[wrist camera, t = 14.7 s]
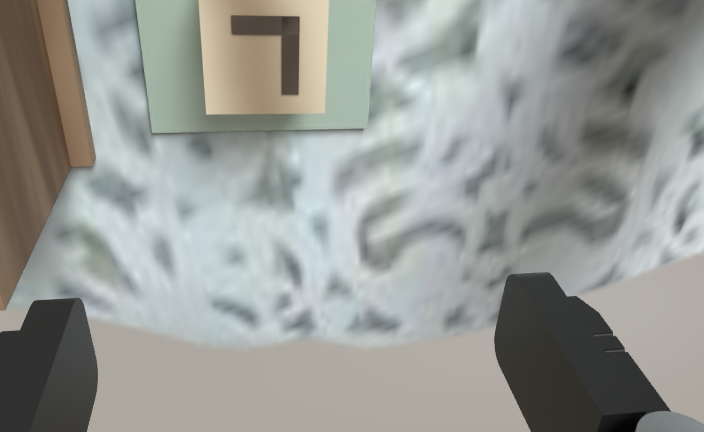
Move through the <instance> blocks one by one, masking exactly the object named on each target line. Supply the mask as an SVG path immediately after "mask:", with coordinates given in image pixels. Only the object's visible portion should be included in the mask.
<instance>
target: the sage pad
mask: <svg viewBox="0 0 704 432" xmlns="http://www.w3.org/2000/svg"><path fill="white" fill-rule="evenodd" d="M135 3H136V11H137V19H138V27H139V34H140V42H141V50H142V58H143V66H144V74H145V81H146V89H147V97H148V105H149V113H150V121H151V128H152V133H181V132H225V131H270V130H315V129H360V128H368V113H369V98H370V82H371V67H372V52H373V36H374V21H375V6H376V0H329V15H328V42H327V69H326V96H325V113H315V114H209V115H206V105H205V90H204V75H203V60H202V45H201V31H200V16H199V1H198V0H135Z"/></svg>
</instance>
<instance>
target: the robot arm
mask: <svg viewBox="0 0 704 432" xmlns="http://www.w3.org/2000/svg"><path fill="white" fill-rule="evenodd" d="M494 342H495V352H496V357H497V360H498V363H499V366H500V368H501V370H502V372H503V374H504V376H505V378H506V380H507V382H508V384H509V387H510V389H511V391H512V393H513V395H514V397H515V399H516V401H517V403H518V405H519V408H520V410H521V411H522V414H523V416H524V418H525V420H526V422H527V424H528V426H529V428H530V430H531V432H704V424H702V423H701V422H698V421H697V420H695V419H693V418H691V417H688V416H685V415H683V414H679V413H675V412H671V411H670V409H669V408H668V407H667V405H666V404H665V403H664V401H663V400H662V399H661V397H660V396H659V394H658V393H657V392H656V390H655V389H654V387H653V386H652V385H651V383H650V382H649V381H648V379H647V378H646V377H645V375H644V374H643V372H642V371H641V370H640V368H639V367H638V366H637V364H636V363H635V362H634V360H633V359H632V358H631V356H630V355H629V353H628V352H625V350H624V347H623V345H622V344H621V343H620V341H619V340H618V338H617V337H616V336H613V332H612V330H611V329H610V328H609V326H608V325H607V323H606V322H605V321H604V319H603V318H602V317H601V315H600V314H599V313H598V312H597V311H595V310H594V309H593V308H592V307H590V306H589V305H588V304H586V303H585V302H584V301H582V300H581V299H579V298H578V297H577V296H571V297H567V296H566V295H565V293H564V292H563V290H562V289H561V287H560V286H559V284H558V283H557V281H556V280H555V279H554V277H553V276H552V275H551V274H550V273H548V272H543V273H526V274H511V275H510V276H509V277H508V278H507V280H506V283H505V288H504V292H503V297H502V302H501V307H500V311H499V316H498V321H497V325H496V330H495V338H494ZM97 382H98V369H97V361H96V356H95V351H94V347H93V342H92V338H91V334H90V329H89V325H88V321H87V316H86V312H85V308H84V304H83V302H82V300H81V299H80V298H70V299H52V300H36V301H34V302H33V303H32V304H31V306H30V308H29V311H28V313H27V315H26V318H25V320H24V322H23V325H22V327H21V329H20V330H19V331H3V332H1V333H0V432H87V429H88V425H89V421H90V417H91V413H92V408H93V405H94V401H95V396H96V392H97Z"/></svg>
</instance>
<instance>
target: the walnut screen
mask: <svg viewBox="0 0 704 432" xmlns="http://www.w3.org/2000/svg"><path fill="white" fill-rule="evenodd" d="M95 158H96V155H95V150H94V144H93V139H92V133H91V128H90V122H89V117H88V111H87V106H86V100H85V95H84V89H83V84H82V78H81V73H80V67H79V62H78V57H77V51H76V46H75V40H74V35H73V29H72V24H71V18H70V13H69V7H68V2H67V0H0V310H5V309H6V307H7V305H8V303H9V301H10V299H11V296H12V294H13V292H14V290H15V288H16V286H17V283H18V281H19V279H20V277H21V275H22V272H23V270H24V268H25V266H26V264H27V262H28V259H29V257H30V255H31V253H32V251H33V249H34V246H35V244H36V242H37V240H38V238H39V236H40V233H41V231H42V229H43V227H44V225H45V223H46V220H47V218H48V216H49V214H50V212H51V210H52V207H53V205H54V203H55V201H56V199H57V197H58V194H59V192H60V190H61V188H62V186H63V183H64V181H65V179H66V177H67V175H68V173H69V170H70V168H71V167H85V166H93V163H94V161H95Z"/></svg>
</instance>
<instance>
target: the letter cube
mask: <svg viewBox="0 0 704 432" xmlns="http://www.w3.org/2000/svg"><path fill="white" fill-rule="evenodd" d="M198 1H199V16H200V31H201V45H202V60H203V75H204V90H205V105H206V115H209V114H315V113H325V96H326V69H327V42H328V15H329V0H198Z"/></svg>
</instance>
